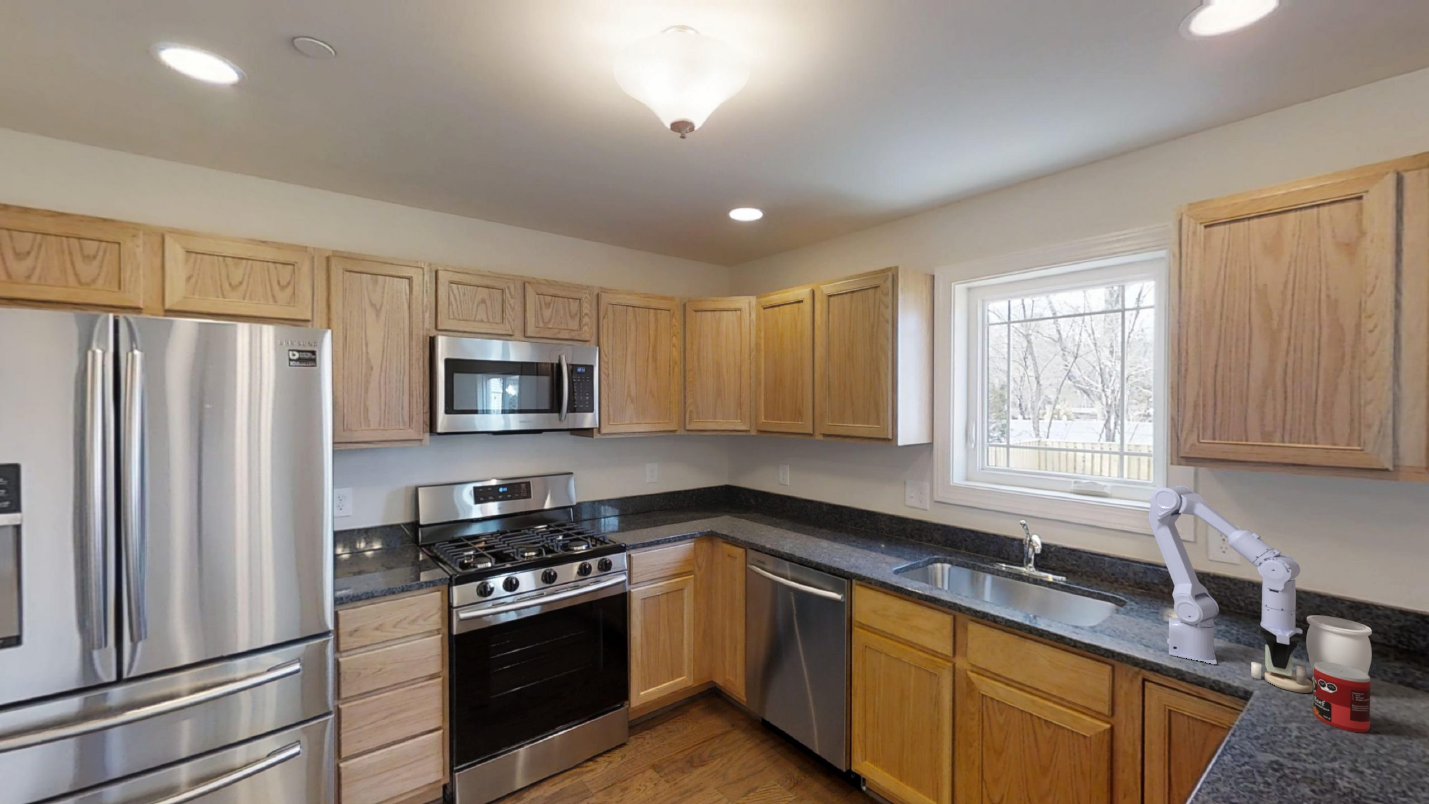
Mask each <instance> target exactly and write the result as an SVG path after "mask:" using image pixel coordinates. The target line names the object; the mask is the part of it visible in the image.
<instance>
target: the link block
mask: <svg viewBox="0 0 1429 804" xmlns="http://www.w3.org/2000/svg"><path fill="white" fill-rule="evenodd" d="M1264 646H1265V647H1264V648H1265V649H1264V651H1265V652H1264V655H1265V656H1264V657H1265V658H1264V659H1265V660H1264V663H1265V664H1264V665H1265V668H1266V670H1267V671H1269V672H1274V673H1279V674H1284V675H1288V676H1291V673H1292V663H1293V662H1292V661H1293V660H1292V657H1293V656H1292V655H1293V654H1292V653H1291V655H1290V658H1289V661H1288V664H1287V667H1286V669H1281V668H1276V667H1273V664H1272V661H1271V656H1270V650H1269V647H1268V645H1267V644H1266V643H1265V645H1264Z"/></svg>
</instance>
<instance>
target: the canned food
mask: <svg viewBox="0 0 1429 804" xmlns="http://www.w3.org/2000/svg"><path fill="white" fill-rule="evenodd" d="M1313 676H1314V681H1313V689H1312V692H1313V693H1312V694H1313V695H1312V696H1313V701H1312V702H1313V703H1312V704H1313V707H1312V710H1313V714H1314V716H1315V718H1316V719H1318V720H1319V721H1320V722H1322V723H1324V724H1326V725H1329V726H1331V727H1333V728H1337V729H1340V730H1343V731H1346V732H1347V731H1348V732H1353V733H1360V734H1361V733H1367V732H1368V731H1369V729H1370V724H1371V723H1370V722H1371V721H1370V720H1371V717H1370V716H1371V715H1370V714H1371V677H1370V675H1369V674H1368V675H1367V674H1366V673H1364V672H1362V671H1360V670H1357V669H1355V668H1351V667H1348V666H1345V665H1340V664H1336V663H1329V662H1316V663H1314V672H1313Z"/></svg>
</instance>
